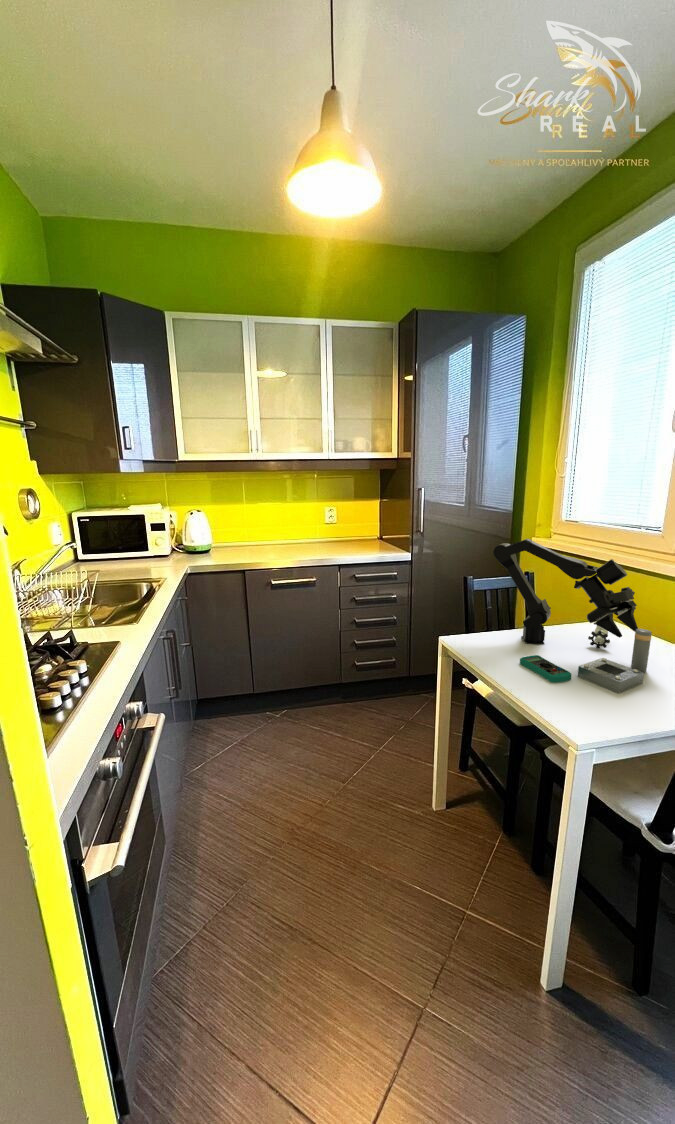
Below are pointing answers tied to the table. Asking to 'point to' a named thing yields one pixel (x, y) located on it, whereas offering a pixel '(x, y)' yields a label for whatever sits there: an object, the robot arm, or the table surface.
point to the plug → (641, 650)
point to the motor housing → (610, 675)
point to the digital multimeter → (545, 669)
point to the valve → (599, 637)
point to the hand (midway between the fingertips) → (629, 634)
